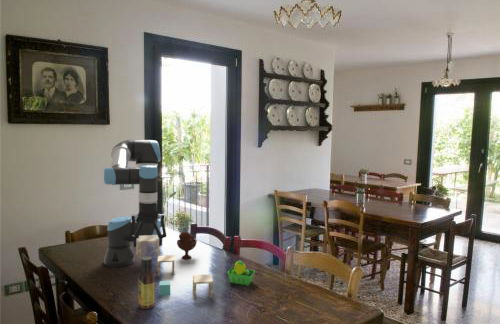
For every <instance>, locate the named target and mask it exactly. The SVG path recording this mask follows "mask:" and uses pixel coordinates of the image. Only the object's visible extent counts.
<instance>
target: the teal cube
mask: <svg viewBox="0 0 500 324" xmlns="http://www.w3.org/2000/svg"><path fill="white" fill-rule="evenodd" d="M158 291H159V293H158V295H159V296H171V280H159V290H158Z"/></svg>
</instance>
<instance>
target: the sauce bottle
mask: <svg viewBox="0 0 500 324" xmlns="http://www.w3.org/2000/svg"><path fill="white" fill-rule="evenodd" d="M140 260H141V261H140V262H141V271H140V273H139V275H138V277H137V278H138V280H137V281H138V289H137V290H138V294H137V295H138V298H137V299H138V307H139V308H140V309H143V310H147V309H151V308H153V307H154V306H155V301H156V297H155V295H156V292H155V291H156V290H155V289H156V287H155V286H156V285H155V283H156V280H155V272H154V271H153V269H152V265H153V263H152V262H153V257H152V256H148V255H147V256H143V257H141V258H140Z"/></svg>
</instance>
